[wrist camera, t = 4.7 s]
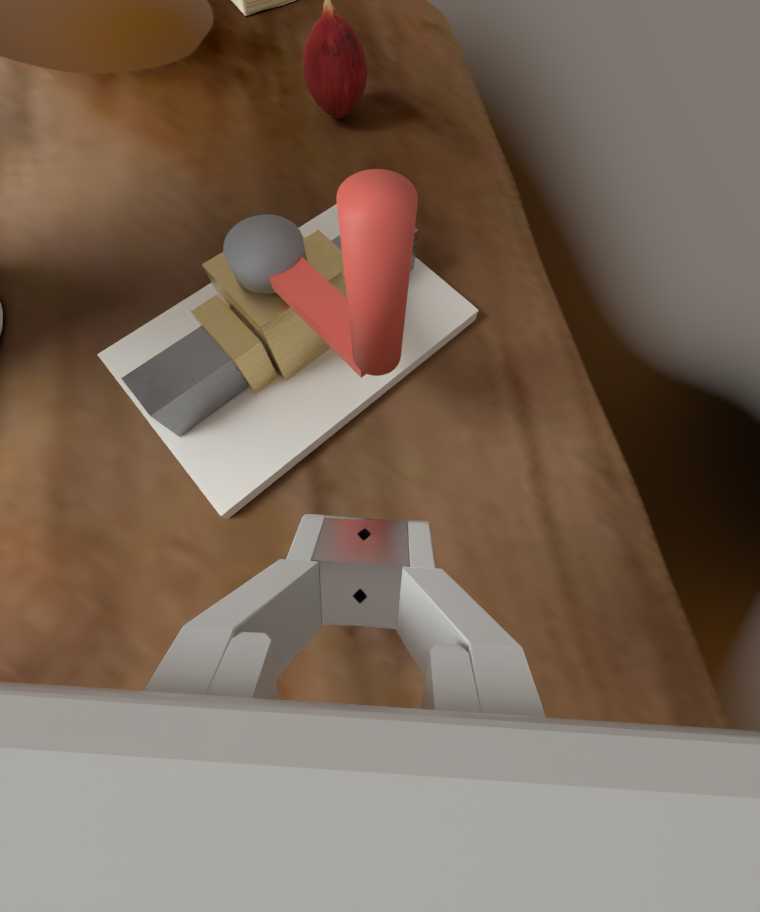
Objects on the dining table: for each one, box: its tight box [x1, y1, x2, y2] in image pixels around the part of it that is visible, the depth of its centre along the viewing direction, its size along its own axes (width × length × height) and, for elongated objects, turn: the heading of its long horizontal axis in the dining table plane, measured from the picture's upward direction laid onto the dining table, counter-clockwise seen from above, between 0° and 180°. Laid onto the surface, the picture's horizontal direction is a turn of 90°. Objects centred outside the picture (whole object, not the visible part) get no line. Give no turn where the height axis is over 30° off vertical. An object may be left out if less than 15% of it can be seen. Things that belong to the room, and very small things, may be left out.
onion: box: [303, 0, 367, 119], centre depth 34 cm, size 6×6×8 cm
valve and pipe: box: [121, 216, 418, 437], centre depth 25 cm, size 22×6×7 cm, turn 132°
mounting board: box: [97, 204, 479, 519], centre depth 28 cm, size 24×16×1 cm, turn 132°
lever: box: [223, 169, 418, 378], centre depth 16 cm, size 13×4×9 cm, turn 42°
